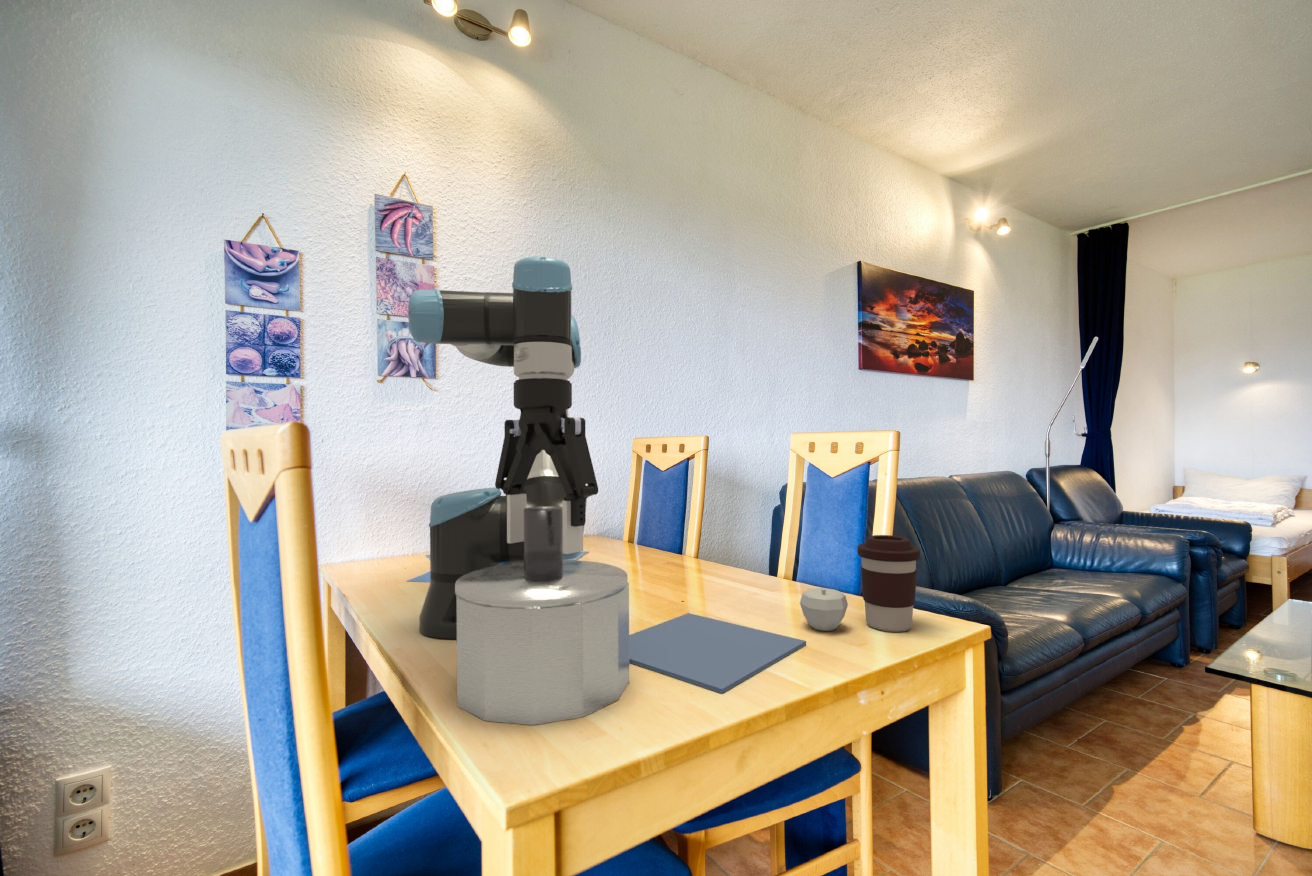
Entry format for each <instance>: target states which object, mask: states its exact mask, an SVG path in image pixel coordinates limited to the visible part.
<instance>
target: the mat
mask: <svg viewBox="0 0 1312 876" xmlns="http://www.w3.org/2000/svg"><path fill="white" fill-rule="evenodd" d="M806 645H807V640H803V639H799V638H795V637H791V636H787V635H782V634H778V633H774V632H769V631H766V630H761V629H757V628H753V627H749V626H745V625H739V624H738V623H737V624H736V623H732V622H727V621H724V620H719V619H714V618H711V617H706V616H703V615H699V614H694V613H690V612H686V613H685V614H682V615H680V616H677V617H673V618H671V619H668V620H666V621H663V622H661V623H658V624H655V625H651V626H650V627H647V628H645V629H642V630H639V631H635V632H634V633H631V634H629V664H632V665H635V666H638V667H640V668H644V669H646V670H650V671H652V672H656V673H658V674H661V675H665V676H668V677H671V678H673V679H676V680H680V681H683V682H685V683H689V684H691V685H694V686H697V687H699V688H700V687H701V688H704V689H707V690H709V691H711V692H716V693H719V694H725V693H726V692H728V691H729V690H732V689H733V688H735V687H736V686H738V685H740V684H742V683H743V682H745V681H747V680H748V679H750V678H752V677H754V676H756V675H757V674H759V673H760V672H762V671H764V670H765V669H767V668H769V667H770V666H772V665H774V664H776V663H778V662H779V661H781V660H783V659H784V658H787V656H788V657H789V655H791V654H793V653H795V652H796V651H798V650H800V649H802V648H803V647H806Z"/></svg>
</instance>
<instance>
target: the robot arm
mask: <svg viewBox="0 0 1312 876" xmlns="http://www.w3.org/2000/svg"><path fill="white" fill-rule="evenodd" d="M513 265H514V266H513V274H512V275H513V276H512V278H513V279H512V283H511V286H512V287H511V288H512V292H488V291H486V292H485V291H484V292H482V291H465V290H462V291H459V290H444V289H441V290H439V289H438V288H433V289H418V290H414V291H413V292H412V293H411V295H410V297H409V299H408V306H407V309H408V310H407V311H408V313H407V315H408V326H409V330H410V331H409V332H410V334H411V337H412V338H413V339H414V341H416V342H418V343H424V344H432V345H451V346H454V347H455V348H456V349H457V350H458V352H459V353H460V354H462V355H463V356H464V357H466V358H468V359H471V360H473V361H476V362H480V363H484V364H488V365H490V366H491V365H492V366H497V367H507V368H508V367H509V368H511V367H513V375H514V376H515V377H518V379H516V380H515V381H514V382H513V407H514V408H515V409H518V410H519V411H520V416H519V419H505V421H504V427H503V428H504V437H503V442H502V443H503V444H502V447H501V453H500V457H499V462H498V468H497V473H496V477H495V482H494V486H495V487H488V488H487V487H486V488H485V487H483V488H477V489H476V488H475V489H470V490H463V491H458V492H452V493H448V494H445V495H441V496H438V497H436V498H434V500H432V501H433V502H432V503H431V505H430V518H429V523H428V528H429V540H430V541H429V549H430V550H429V552H430V553H429V554H430V555H429V558H430V559H429V561H430V563H429V565H430V578H429V580H430V581H429V582H430V583H429V587H428V589H427V593H426V596H425V598H424V601H423V605H422V608H421V612H420V614H419V618H418V619H419V621H418V622H419V632H420V633H421V634H422V635H425V636H427V637H431V638H437V639H447V640H449V639H452V640H453V639H457V603H456V594H455V582H456V581H457V580H458V579H459V578H460V577H461V576H463V575H465V574H468V573H470V572H473V571H476V570H479V569H483V568H487V567H491V566H496V565H502V564H509V563H516V562H524V509H525V508H529V507H542V506H553V507H562V508H563V560H575V559H576V558H578V557H579V556H580V555H581V552H583V551H584V530H585V525H586V519H587V518H586V514H587V513H586V511H587V504H588V503H587V499H588V498H590V497H592V496H594V495H597V494H598V493H599V486H598V481H597V478H596V477H597V476H596V473H595V470H594V466H593V462H592V457H591V453H590V449H589V444H588V440H587V437H586V419H585V418H584V417H571V416H569V409H570V408H571V407H572V405H573V389H572V388H573V383H571V381H570V380H569V379H570V378H571V377H572V376H573V375H574V373H575V369H578V368H579V367H580V366H581V363H582V362H581V361H582V350H581V349H582V347H581V343H580V342H581V339H580V331H579V326H578V323H577V320H576V318H575V316H574V315H572V290H573V285H572V277H571V276H572V274H571V268H570V266H569V264H568V263H567V262H565V261H564V260H563V259H562V260H561V259H558V258H556V257H554V258H553V257H550V256H528V257H523V258H521V259H519V260H517V261H516V262H515V263H514V264H513ZM502 493H503V494H504V495H502Z"/></svg>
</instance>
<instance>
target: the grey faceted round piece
mask: <svg viewBox="0 0 1312 876" xmlns="http://www.w3.org/2000/svg"><path fill="white" fill-rule="evenodd" d="M799 605H800V608H801V611H802V615H803V616H804V618H805V620H806V621H807V623H808V624H809V626H811V628H813V629H815V630H817V631H823V632H831V631H835V629H837V628H838V627H839V625H840V624H841V622H842V621H843V619H844V617H845V614H846V612H847V610H848V609H847V608H848V605H849V604H848V601H847V596H846V594H845V593H843V592H841V591H839V590H837V589H832V588H825V587H816V588H808V589H806V590H804V592H803V593H802V594H801V598H800V601H799Z"/></svg>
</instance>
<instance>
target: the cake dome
mask: <svg viewBox="0 0 1312 876" xmlns="http://www.w3.org/2000/svg"><path fill="white" fill-rule="evenodd" d="M455 594H456V603H457V638H456V701H457V702H456V703H457V707H459V708H460V709H462V710H463V711H466V712H468V713H470V714H472V715H473V716H475V717H477V718H478V719H480V720H483V721H484V722H493V723H494V722H495V723H504V724H505V723H506V724H516V725H517V724H518V725H526V726H527V725H528V726H535V725H536V726H537V725H543V724H549V723H554V722H560V721H567V720H572V719H578V718H584V717H586V716H588V715H590V714H592V713H595V712H596V711H598V710H601V709H603V708H604V707H607V706H609V705H611V704H613V703H615V702H617V701H619V700H620V699H621V696H622V695H623V693H624V691H625V689H626V687H627V686H628V684H629V682H630V663H629V635H630V583H629V581H628V573H627V571H625V570H624V569H623V568H620V567H618V566H615V565H612V564H608V563H602V562H597V561H588V560H575V559H569V560H563V508H562V507H553V506H542V507H529V508H525V509H524V562H512V563H509V562H508V563H501V565H496V566H491V567H487V568H483V569H479V570H476V571H473V572H470V573H468V574H465V575H463V576H461V577H460V578H459V579H458V580H457V581H456V582H455Z"/></svg>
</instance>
